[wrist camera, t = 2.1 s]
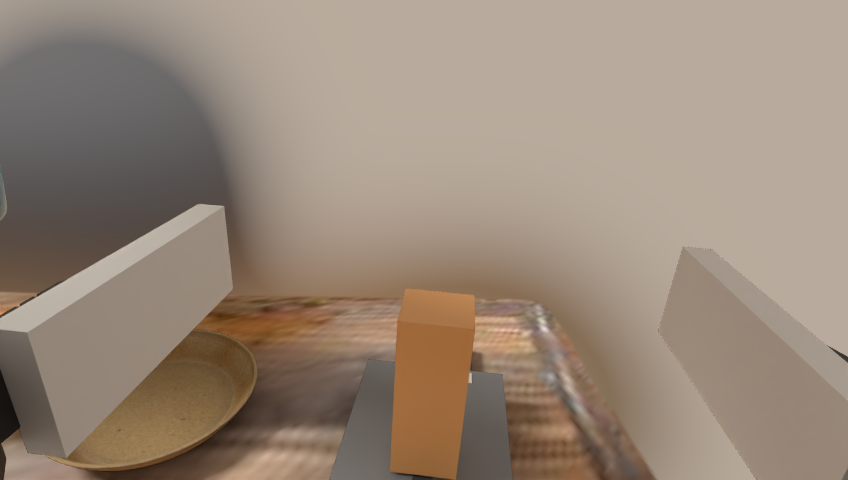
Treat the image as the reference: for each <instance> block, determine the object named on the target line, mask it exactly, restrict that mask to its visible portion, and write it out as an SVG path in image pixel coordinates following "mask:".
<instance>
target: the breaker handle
mask: <svg viewBox="0 0 848 480" xmlns="http://www.w3.org/2000/svg"><path fill="white" fill-rule="evenodd" d="M474 334H475V296H474V295H466V294H456V293H446V292H437V291H427V290H416V289H406V291H405V295H404V298H403V302H402V306H401V310H400V313H399V317H398V321H397V341H396V361H395V381H394V400H393V420H392V440H391V460H390V472H398V473H406V474H414V475H422V476H430V477H438V478H446V479H454V480H456V475H457V467H458V459H459V451H460V444H461V436H462V428H463V420H464V412H465V404H466V397H467V389H468V381H469V373H470V365H471V357H472V350H473V342H474Z"/></svg>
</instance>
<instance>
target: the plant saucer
mask: <svg viewBox="0 0 848 480" xmlns="http://www.w3.org/2000/svg"><path fill="white" fill-rule="evenodd" d="M257 373H258V372H257V364H256V360H255V358H254V356H253V354H252V353H251V351H250V350H249V349H248V348H247V347H246V346H245V345H244V344H243V343H241V342H240V341H238V340H237V339H234V338H232V337H230V336H228V335H225V334H222V333H218V332H213V331H208V330H200V329H193V330H192V331H191V332H190V333H189V334H188V335H187V336H186V337H185V338H184V339H183V340H182V341H181V342H180V343H179V344H178V345H177V346H176V347H175V348H174V349H173V350H172V351H171V352H170V353H169V354H168V355H167V356H166V357H165V358H164V359H163V360H162V361H161V362H160V363H159V365H158V366H157V367H156V368H155V369H154V370H153V371H152V372H151V373H150V374H149V375H148V376H147V377H146V378H145V379H144V380H143V381H142V382H141V383H140V384H139V385H138V386H137V387H136V388H135V389H134V390H133V391H132V392H131V393H130V394H129V395H128V396H127V397H126V398H125V399H124V400H123V401H122V402H121V403H120V404H119V405H118V406H117V407H116V408H115V409H114V410H113V411H112V412H111V413H110V414H109V415H108V416H107V417H106V418H105V419H104V420H103V421H102V422H101V423H100V424H99V425H98V426H97V427H96V428H95V429H94V430H93V431H92V432H91V434H90V435H89V436H88V437H87V438H86V439H85V440H84V441H83V442H82V443H81V444H80V445H79V446H78V447H77V448H76V449H75V450H74V451H73V452H72V453H71V454H70V455H69V456H68V457H67V458H64V457H56V456H48V455H45V456H46V457H48V458H50V459H52V460H54V461H56V462H59V463H62V464H65V465H69V466H72V467H76V468H81V469H87V470H98V471H118V470H129V469H136V468H141V467H146V466H150V465H154V464H157V463H160V462H163V461H166V460H169V459H172V458H174V457H176V456H179V455H181V454H183V453H185V452H187V451H189V450H191V449H193V448H195V447H196V446H198V445H200V444H201V443H203V442H204V441H206V440H207V439H209V438H210V437H211V436H213V435H214V434H215V433H217V432H218V431H219V430H220V429H222V428H223V427H224V426H225V425H226V424H227V423H228V422H229V421H230V420H231V419H232V418H233V417H234V416H235V415H236V414H237V413H238V412H239V410H240V409H241V408H242V407H243V405H244V404H245V403H246V401H247V400H248V398H249V397H250V395H251V393H252V391H253V389H254V387H255V383H256V380H257Z"/></svg>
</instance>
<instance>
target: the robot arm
mask: <svg viewBox="0 0 848 480" xmlns="http://www.w3.org/2000/svg"><path fill="white" fill-rule="evenodd" d="M6 211H7V203H6V197H5V191H4V185H3V179H2V174H1V167H0V220H1V219H2V218H3V217H4V216H5V214H6ZM232 289H233V285H232V276H231V267H230V258H229V249H228V239H227V231H226V222H225V212H224V206H215V205H204V204H198V205H196V206H195V207H193V208H191V209H189V210H188V211H186V212H184V213H182V214H181V215H179V216H177V217H175V218H174V219H172V220H170V221H169V222H167V223H165V224H163V225H161V226H160V227H158V228H156V229H154V230H153V231H151V232H149V233H147V234H146V235H144V236H142V237H141V238H139V239H137V240H135V241H134V242H132V243H130V244H128V245H127V246H125V247H123V248H121V249H120V250H118V251H116V252H115V253H113V254H111V255H109V256H107V257H106V258H104V259H102V260H100V261H99V262H97V263H96V264H94V265H92V266H90V267H88V268H87V269H85V270H83V271H81V272H80V273H78V274H76V275H74V276H73V277H71V278H69V279H66V280H64V281H61V282H58V283H56V284H54V285H53V286H51V287H49V288H47V289H46V290H44V291H42V292H40V293H39V294H37V297H32V298H30V299H28V300H26V301H24V302H23V303H21V304H20V306H19V307H14V308H12V309H10V310H9V311H7V312H5V313H3V314H2V315H0V480H4V472H5V465H6V457H5V453H4V450H3V447H2V445H1V443H2V442H3V441H4V440H6V439H7V438H8V437H9V436H10V435H12V434H13V433H14V432H15V431H16V430H17V429H19V430H20V432H21V435H22V438H23V441H24V444H25V447H26V449H27V452H28V453H32V454H40V455H48V456H56V457H64V458H67V457H68V456H69V455H70V454H71V453H72V452H73V451H74V450H75V449H76V448H77V447H78V446H79V445H80V444H81V443H82V442H83V441H84V440H85V439H86V438H87V437H88V436H89V435H90V434H91V432H92V431H93V430H94V429H95V428H96V427H97V426H98V425H99V424H100V423H101V422H102V421H103V420H104V419H105V418H106V417H107V416H108V415H109V414H110V413H111V412H112V411H113V410H114V409H115V408H116V407H117V406H118V405H119V404H120V403H121V402H122V401H123V400H124V399H125V398H126V397H127V396H128V395H129V394H130V393H131V392H132V391H133V390H134V389H135V388H136V387H137V386H138V385H139V384H140V383H141V382H142V381H143V380H144V379H145V378H146V377H147V376H148V375H149V374H150V373H151V372H152V371H153V370H154V369H155V368H156V367H157V366H158V365H159V363H160V362H161V361H162V360H163V359H164V358H165V357H166V356H167V355H168V354H169V353H170V352H171V351H172V350H173V349H174V348H175V347H176V346H177V345H178V344H179V343H180V342H181V341H182V340H183V339H184V338H185V337H186V336H187V335H188V334H189V333H190V332H191V331H192V330H193V329H194V328H195V327H196V326H197V325H198V324H199V323H200V322H201V321H202V320H203V319H204V318H205V317H206V316H207V315H208V314H209V313H210V312H211V311H212V310H213V309H214V308H215V307H216V306H217V305H218V304H219V303H220V302H221V301H222V300H223V299H224V298H225V297H226V295H227V294H228V293H229V292H230V291H231V290H232ZM658 332H659V333H660V335H661V336H662V338H663V339H664V341H665V342H666V344H667V345H668V347H669V349H670V350H671V352H672V353H673V354H674V356H675V357H676V359H677V361H678V362H679V363H680V365H681V367H682V368H683V370H684V371H685V373H686V374H687V375H688V377H689V379H690V380H691V382H692V383H693V385H694V386H695V388H696V389H697V390H698V392H699V394H700V395H701V397H702V398H703V400H704V401H705V403H706V404H707V406H708V407H709V409H710V410H711V412H712V413H713V415H714V416H715V418H716V419H717V421H718V422H719V424H720V426H721V427H722V429H723V430H724V432H725V433H726V435H727V436H728V437H729V439H730V440H731V442H732V443H733V445H734V446H735V448H736V450H737V451H738V453H739V454H740V456H741V457H742V459H743V460H744V462H745V463H746V465H747V466H748V468H749V469H750V471H751V472H752V474H753V475H754V477H755V478H756V480H848V357H847V356H845V355H844V354H842V353H840V352H838V351H836V350H834V349H833V348H831V347H829V346H827V345H826V344H824V343H823V342H822V341H821V340H820V339H818V338H817V337H816V336H815V335H814V334H813V333H811V332H810V331H809V330H808V329H807V328H805V327H804V326H803V325H802V324H801V323H799V322H798V321H797V320H796V319H794V318H793V317H792V316H791V315H790V314H789V313H787V312H786V311H785V310H783V309H782V308H781V307H780V306H779V305H778V304H777V303H775V302H774V301H773V300H772V299H771V298H769V297H768V296H767V295H766V294H765V293H763V292H762V291H761V290H760V289H759V288H757V287H756V286H755V285H754V284H753V283H751V282H750V281H749V280H748V279H747V278H745V277H744V276H743V275H742V274H741V273H739V272H738V271H737V270H736V269H735V268H733V267H732V266H731V265H730V264H729V263H727V262H726V261H725V260H724V259H723V258H721V257H720V256H719V255H718V254H717V253H715V252H714V251H713V250H712V249H703V248H693V247H683V248H682V251H681V255H680V258H679V261H678V265H677V268H676V272H675V275H674V278H673V282H672V285H671V289H670V292H669V295H668V299H667V302H666V305H665V309H664V312H663V316H662V319H661V322H660V326H659V329H658Z"/></svg>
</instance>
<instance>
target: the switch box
mask: <svg viewBox="0 0 848 480" xmlns="http://www.w3.org/2000/svg"><path fill="white" fill-rule="evenodd" d="M394 381H395V362H388V361H379V360H370V359H368V362H367V365H366V368H365V371H364V374H363V377H362V380H361V383H360V387H359V390H358V393H357V396H356V399H355V402H354V405H353V408H352V411H351V414H350V417H349V420H348V424H347V427H346V430H345V433H344V436H343V439H342V442H341V445H340V448H339V451H338V454H337V457H336V460H335V464H334V467H333V470H332V473H331V476H330V479H329V480H454V479H446V478H438V477H430V476H422V475H414V474H406V473H398V472H390V460H391V440H392V420H393V400H394ZM456 480H513V477H512V467H511V456H510V446H509V435H508V425H507V415H506V404H505V394H504V384H503V374H495V373H486V372H477V371H471V365H470V373H469V381H468V389H467V397H466V404H465V412H464V420H463V428H462V436H461V444H460V451H459V459H458V467H457V475H456Z"/></svg>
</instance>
